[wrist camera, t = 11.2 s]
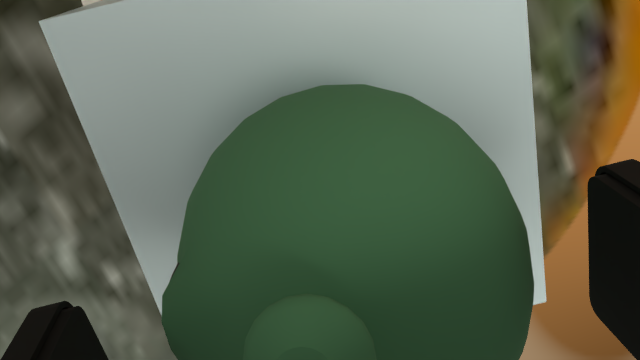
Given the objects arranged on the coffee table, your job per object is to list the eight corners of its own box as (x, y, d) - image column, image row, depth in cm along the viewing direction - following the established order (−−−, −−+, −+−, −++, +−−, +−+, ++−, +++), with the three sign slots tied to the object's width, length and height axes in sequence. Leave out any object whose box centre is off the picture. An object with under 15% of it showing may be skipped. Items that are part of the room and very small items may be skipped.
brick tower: (70, -50, 23) (-84, -47, 13) (449, -142, 23) (598, -213, 13) (191, 271, 29) (153, 445, 19) (486, 199, 29) (605, 334, 19)
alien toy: (127, 177, 15) (-80, 533, 6) (352, -7, 14) (532, 87, 5) (289, 332, 18) (318, 749, 8) (491, 189, 16) (784, 499, 7)
